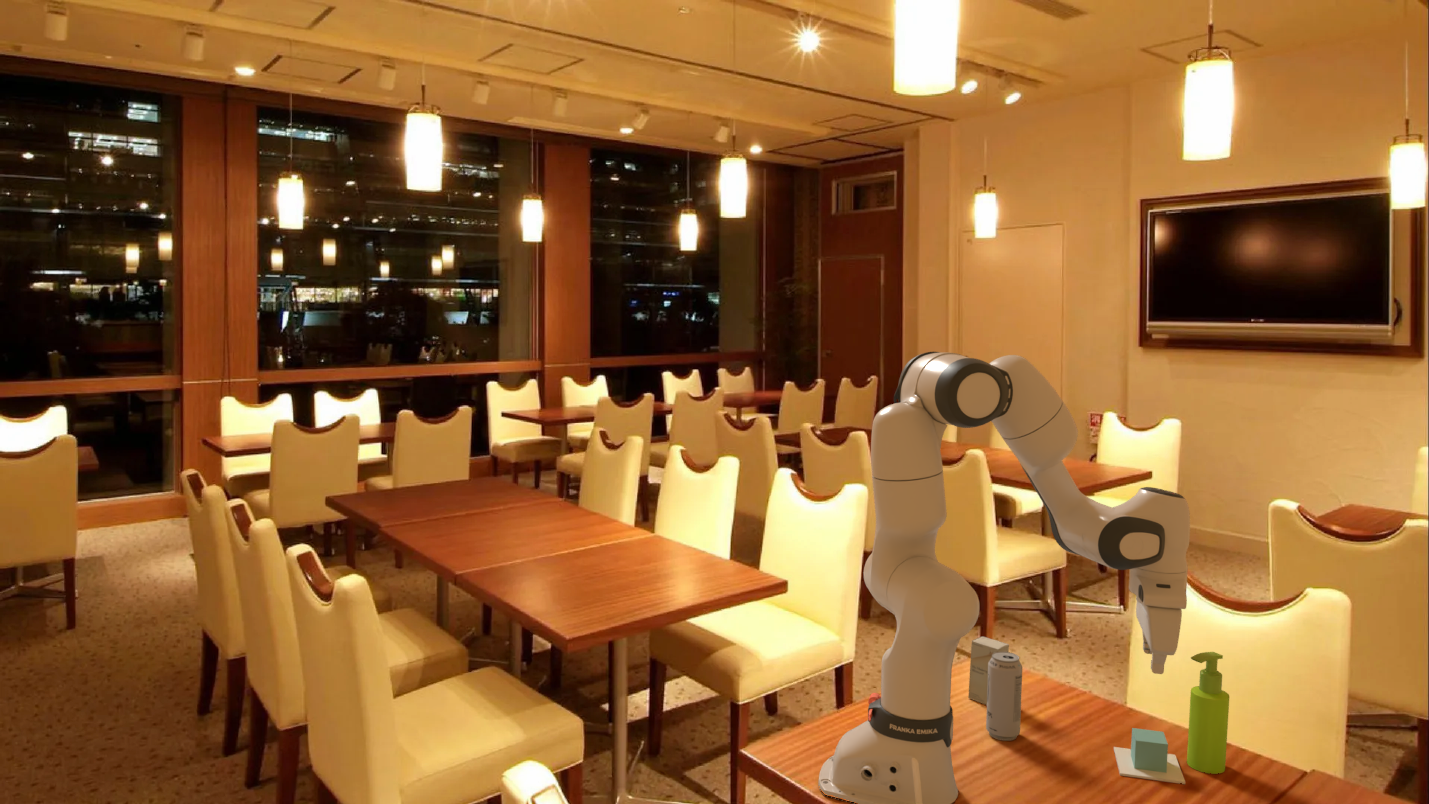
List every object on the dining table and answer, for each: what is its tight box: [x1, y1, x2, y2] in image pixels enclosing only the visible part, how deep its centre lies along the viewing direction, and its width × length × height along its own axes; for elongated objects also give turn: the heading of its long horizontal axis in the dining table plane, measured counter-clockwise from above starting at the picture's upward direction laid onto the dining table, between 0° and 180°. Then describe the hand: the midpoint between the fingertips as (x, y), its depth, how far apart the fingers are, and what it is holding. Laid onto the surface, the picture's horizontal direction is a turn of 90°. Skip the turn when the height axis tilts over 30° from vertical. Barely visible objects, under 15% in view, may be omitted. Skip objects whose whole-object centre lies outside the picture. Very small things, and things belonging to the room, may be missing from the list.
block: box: [1130, 727, 1169, 773], centre depth 163 cm, size 5×5×5 cm
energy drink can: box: [985, 651, 1023, 742], centre depth 174 cm, size 6×6×15 cm
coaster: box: [1113, 746, 1186, 785], centre depth 163 cm, size 10×10×1 cm
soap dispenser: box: [1186, 651, 1230, 775], centre depth 162 cm, size 6×7×20 cm
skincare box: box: [967, 635, 1010, 706], centre depth 189 cm, size 6×4×12 cm
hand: (1152, 662), depth 161 cm, fingers open, 8 cm apart
